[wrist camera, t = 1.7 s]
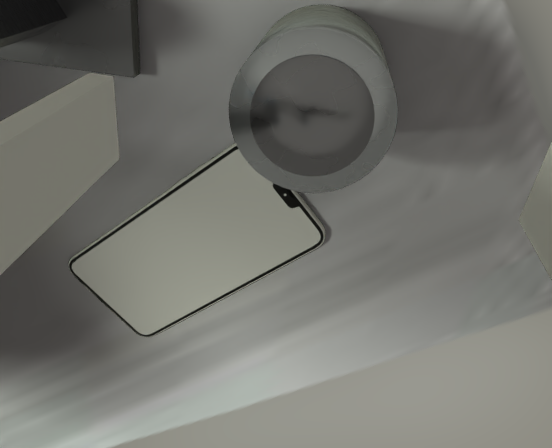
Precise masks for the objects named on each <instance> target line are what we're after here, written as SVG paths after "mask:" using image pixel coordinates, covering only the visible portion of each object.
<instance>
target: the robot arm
mask: <svg viewBox="0 0 552 448" xmlns="http://www.w3.org/2000/svg"><path fill="white" fill-rule="evenodd" d="M119 159H120V156H119V143H118V129H117V116H116V102H115V89H114V76H109V75H102V74H95V73H88V74H86V75H85V76H83V77H81V78H79V79H77V80H75V81H74V82H72V83H70V84H68V85H66V86H64V87H63V88H61V89H59V90H57V91H55V92H53V93H51V94H50V95H48V96H46V97H44V98H42V99H40V100H39V101H37V102H35V103H33V104H31V105H29V106H28V107H26V108H24V109H22V110H20V111H18V112H17V113H15V114H13V115H11V116H9V117H7V118H6V119H4V120H2V121H0V275H1V274H2V273H3V272H4V271H5V270H6V269H7V268H8V267H9V266H10V265H11V264H12V263H13V262H14V261H15V260H17V259H18V258H19V257H20V256H21V255H22V254H23V253H24V252H25V251H26V250H27V249H28V248H29V247H30V246H31V245H32V244H33V243H34V242H35V241H36V240H37V239H38V238H39V237H40V236H41V235H42V234H43V233H44V232H45V231H46V230H47V229H48V228H49V227H50V226H51V225H52V224H53V223H54V222H55V221H56V220H57V219H58V218H60V217H61V216H62V215H63V214H64V213H65V212H66V211H67V210H68V209H69V208H70V207H71V206H72V205H73V204H74V203H75V202H76V201H77V200H78V199H79V198H80V197H81V196H82V195H83V194H84V193H85V192H86V191H87V190H88V189H89V188H90V187H91V186H92V185H93V184H94V183H95V182H96V181H97V180H98V179H99V178H100V177H101V176H103V175H104V174H105V173H106V172H107V171H108V170H109V169H110V168H111V167H112V166H113V165H114V164H115V163H116V162H117V161H118V160H119ZM519 222H520V224H521V226H522V227H523V229H524V231H525V233H526V235H527V236H528V238H529V240H530V242H531V244H532V246H533V247H534V249H535V251H536V253H537V255H538V256H539V258H540V260H541V262H542V264H543V265H544V267H545V269H546V271H547V273H548V274H549V276H550V278H551V280H552V142H551V144H550V147H549V149H548V151H547V154H546V156H545V159H544V161H543V163H542V166H541V168H540V170H539V173H538V175H537V178H536V180H535V182H534V185H533V187H532V189H531V192H530V194H529V196H528V199H527V201H526V204H525V206H524V208H523V211H522V213H521V215H520V218H519Z"/></svg>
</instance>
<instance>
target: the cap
mask: <svg viewBox="0 0 552 448" xmlns="http://www.w3.org/2000/svg"><path fill="white" fill-rule="evenodd" d="M397 119H398V105H397V96H396V92H395V88H394V85H393V81H392V78H391V75H390V71H389V68H388V65H387V62H386V58H385V55H384V52H383V48H382V46H381V43H380V41H379V39H378V37H377V36H376V34H375V32H374V31H373V30H372V29H371V27H370V26H369V25H368V24H367V23H366V22H365V21H364V20H363V19H361V18H360V17H359V16H357V15H356V14H354V13H352V12H350V11H348V10H346V9H343V8H341V7H337V6H332V5H311V6H306V7H302V8H300V9H297V10H294V11H292V12H291V13H289V14H287V15H285V16H284V17H283V18H281V19H280V20H279V21H278V22H277V23H276V24H275V25H274V26H273V27H272V28H271V29H270V30H269V32H268V33H267V34H266V35H265V37H264V38H263V39H262V41H261V42H260V43H259V45H258V46H257V47H256V49H255V50H254V51H253V53H252V54H251V55H250V57H249V58H248V59H247V61H246V62H245V63H244V65H243V66H242V68H241V69H240V71H239V73H238V75H237V77H236V79H235V82H234V84H233V87H232V91H231V95H230V102H229V120H230V127H231V131H232V134H233V138H234V140H235V142H236V145H237V147H238V149H239V150H240V152H241V154H242V155H243V157H244V158H245V159H246V161H247V162H248V163H249V164H250V165H251V167H252V168H253V169H254V170H255V171H257V172H258V173H259V174H260V175H262V176H263V177H264V178H266V179H267V180H269V181H271V182H272V183H274V184H276V185H279V186H281V187H283V188H286V189H289V190H293V191H298V192H305V193H323V192H329V191H334V190H338V189H341V188H344V187H346V186H349V185H351V184H353V183H355V182H356V181H358V180H360V179H361V178H363V177H364V176H366V175H367V174H368V173H369V172H370V171H371V170H373V169H374V168H375V167H376V166H377V164H378V163H379V162H380V161H381V160H382V158H383V157H384V155H385V154H386V152H387V150H388V149H389V146H390V144H391V142H392V140H393V137H394V134H395V130H396V125H397Z"/></svg>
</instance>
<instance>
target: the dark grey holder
mask: <svg viewBox="0 0 552 448" xmlns="http://www.w3.org/2000/svg"><path fill="white" fill-rule="evenodd" d="M0 59H3V60H10V61H18V62H25V63H32V64H40V65H47V66H54V67H62V68H69V69H76V70H84V71H91V72H98V73H105V74H113V75H120V76H127V77H135V76H137V75H138V74H140V59H139V36H138V14H137V0H0Z"/></svg>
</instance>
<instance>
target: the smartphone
mask: <svg viewBox="0 0 552 448" xmlns="http://www.w3.org/2000/svg"><path fill="white" fill-rule="evenodd" d="M324 240H325V228H324V226H323V225H322V223H321V222H320V220H319V219H318V218H317V217H316V215H315V214H314V213H313V212H312V210H311V209H310V208H309V206H308V205H307V204H306V203H305V201H304V200H303V199H302V198H301V196H300V195H299V194H298V192H297V191H293V190H289V189H286V188H283V187H281V186H279V185H276V184H274V183H272V182H271V181H269V180H267V179H266V178H264V177H263V176H262V175H260V174H259V173H258V172H257V171H255V170H254V169H253V168H252V167H251V165H250V164H249V163H248V162H247V161H246V159H245V158H244V157H243V155H242V154H241V152H240V150H239V149H238V147H237V145H236V143H234V144H233V145H231V146H230V147H228V148H227V149H226V150H224V151H223V152H221V153H220V154H219V155H218V156H216V157H215V158H214V157H213V158H212V159H211V160H210V161H208V162H207V163H206V164H205V163H204V164H203V165H201V166H200V167H199V168H197V169H196V170H194V171H193V172H191V173H190V175H188V176H186V177H184V178H183V179H182V180H180V181H179V182H177V183H176V184H174V185H173V187H171V188H170V189H169V190H167V191H166V192H164V193H163V194H161V195H160V196H159V197H157V198H156V199H154V200H153V201H151V202H150V203H149V204H147V205H146V206H144V207H143V208H141V209H140V210H139V211H137V212H136V213H134V214H133V215H131V216H130V217H129V218H127V219H126V220H124V221H123V222H122V223H120V224H119V225H117V226H116V227H114V228H113V229H112V230H110V231H109V232H107V233H106V234H104V235H103V236H102V237H100V238H99V239H97V240H96V241H94V242H93V243H92V244H90V245H89V246H87V247H86V248H84V249H83V250H82V251H80V252H79V253H77V254H76V255H75V256H73V257H72V258H71V259H70V261H69V263H68V267H69V270H70V272H71V273H72V274H73V276H74V277H75V278H77V279H78V280H79V281H80V282H81V283H82V284H83V285H84V286H85V287H86V288H87V289H88V290H89V291H91V292H92V293H93V294H94V295H95V296H96V297H97V298H98V299H99V300H100V301H101V302H102V303H103V304H105V305H106V306H107V307H108V308H109V309H110V310H111V311H112V312H113V313H114V314H115V315H116V316H118V317H119V318H120V319H121V320H122V321H123V322H124V323H125V324H126V325H127V326H128V327H129V328H131V329H132V330H133V331H134V332H135V333H136V334H138V335H140V336H143V337H152V336H155V335H157V334H159V333H160V332H162V331H164V330H166V329H168V328H170V327H172V326H174V325H175V324H177V323H179V322H181V321H183V320H185V319H187V318H188V317H190V316H192V315H194V314H196V313H198V312H200V311H201V310H203V309H205V308H207V307H209V306H211V305H213V304H215V303H216V302H218V301H220V300H222V299H224V298H226V297H228V296H229V295H231V294H233V293H235V292H237V291H239V290H241V289H242V288H244V287H246V286H248V285H250V284H252V283H254V282H255V281H257V280H259V279H261V278H263V277H265V276H267V275H269V274H270V273H272V272H274V271H276V270H278V269H280V268H282V267H283V266H285V265H287V264H289V263H291V262H293V261H295V260H296V259H298V258H300V257H302V256H304V255H306V254H308V253H309V252H311V251H313V250H315V249H317V248H318V247H320V246H321V245H322V244H323V242H324Z"/></svg>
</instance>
